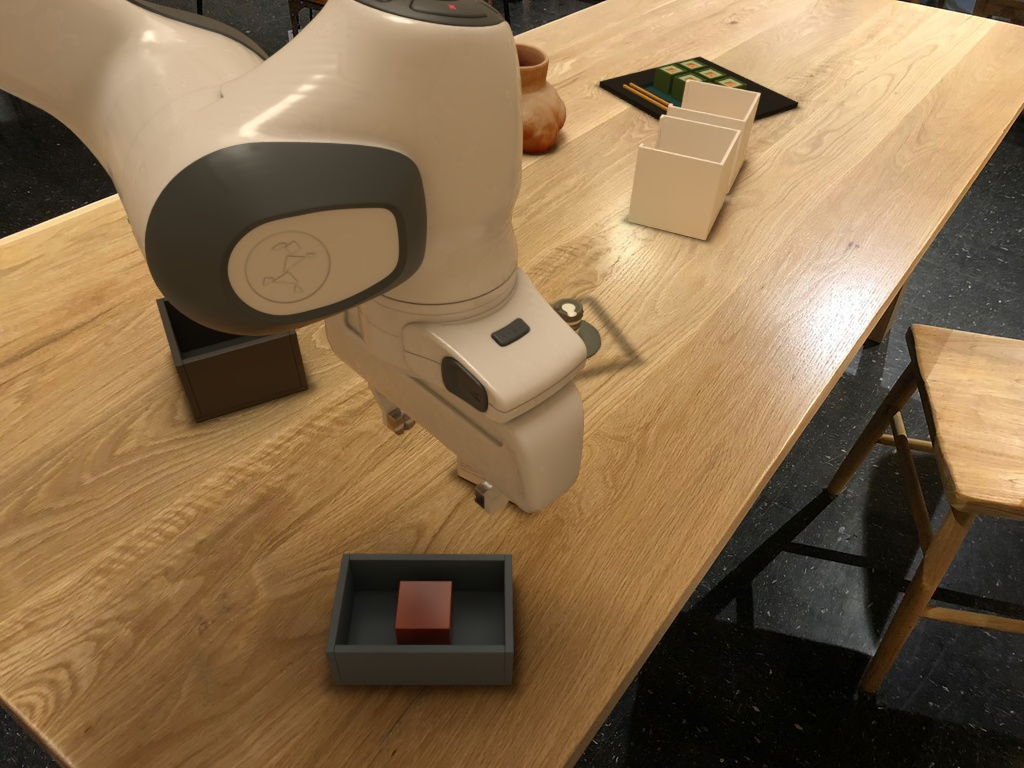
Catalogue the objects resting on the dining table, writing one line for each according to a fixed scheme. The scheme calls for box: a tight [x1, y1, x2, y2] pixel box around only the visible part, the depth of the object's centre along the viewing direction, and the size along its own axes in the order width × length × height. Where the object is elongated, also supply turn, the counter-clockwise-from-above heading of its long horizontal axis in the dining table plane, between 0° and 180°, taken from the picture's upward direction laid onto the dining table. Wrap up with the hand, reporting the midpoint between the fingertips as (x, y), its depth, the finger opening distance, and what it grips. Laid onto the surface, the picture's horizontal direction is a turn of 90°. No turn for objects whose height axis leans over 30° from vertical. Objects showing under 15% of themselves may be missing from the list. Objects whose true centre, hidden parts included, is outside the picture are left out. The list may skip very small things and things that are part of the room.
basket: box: [155, 296, 309, 423], centre depth 79 cm, size 11×11×8 cm
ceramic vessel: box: [515, 42, 567, 155], centre depth 122 cm, size 14×26×15 cm, turn 40°
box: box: [325, 553, 515, 686], centre depth 58 cm, size 13×8×5 cm, turn 91°
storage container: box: [627, 79, 761, 241], centre depth 109 cm, size 25×11×11 cm, turn 156°
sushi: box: [598, 56, 799, 122], centre depth 136 cm, size 25×25×4 cm
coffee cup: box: [553, 297, 602, 359], centre depth 85 cm, size 12×12×5 cm
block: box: [395, 581, 454, 645], centre depth 58 cm, size 4×4×4 cm
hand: (443, 463), depth 52 cm, fingers open, 8 cm apart
